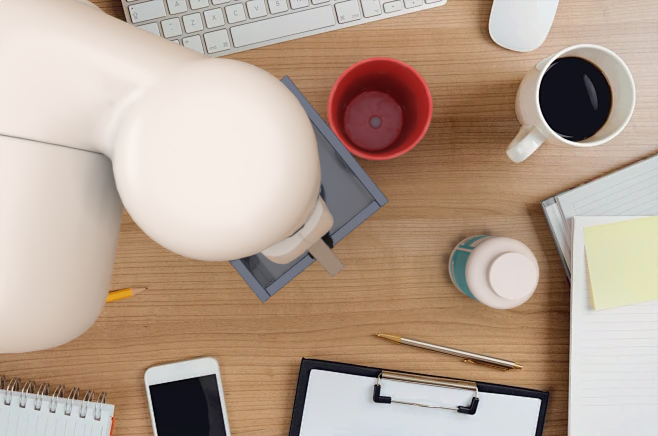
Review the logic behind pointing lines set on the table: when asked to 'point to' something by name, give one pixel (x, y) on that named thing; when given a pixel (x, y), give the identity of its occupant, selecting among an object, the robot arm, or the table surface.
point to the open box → (336, 191)
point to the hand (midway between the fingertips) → (278, 190)
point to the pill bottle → (494, 270)
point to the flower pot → (380, 108)
